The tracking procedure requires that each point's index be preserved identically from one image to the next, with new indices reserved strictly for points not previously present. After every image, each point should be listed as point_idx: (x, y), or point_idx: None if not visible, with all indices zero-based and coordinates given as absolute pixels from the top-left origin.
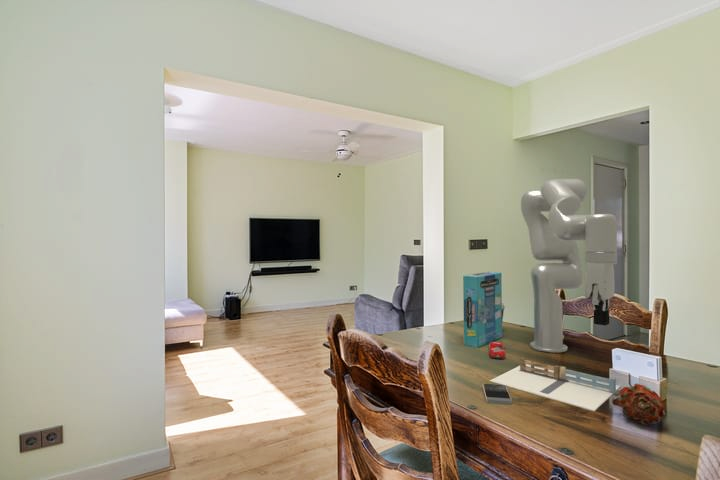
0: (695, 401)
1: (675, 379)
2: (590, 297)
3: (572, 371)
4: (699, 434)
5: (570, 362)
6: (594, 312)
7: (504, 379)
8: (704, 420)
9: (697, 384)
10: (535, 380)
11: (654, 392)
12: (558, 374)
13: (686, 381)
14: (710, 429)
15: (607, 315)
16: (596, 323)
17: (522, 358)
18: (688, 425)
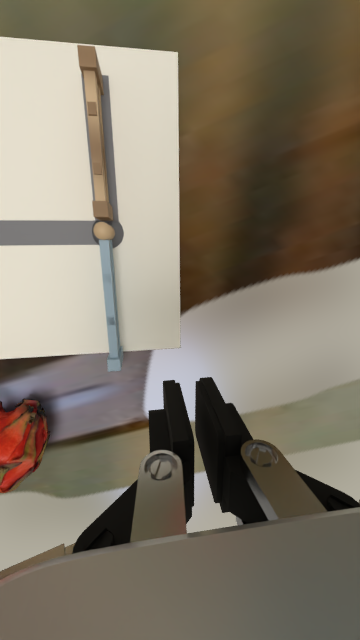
0: (198, 452)
1: (310, 402)
2: (221, 528)
3: (102, 262)
4: (40, 491)
5: (298, 182)
6: (169, 430)
7: None
8: (111, 481)
9: (302, 433)
10: (37, 168)
11: (2, 492)
12: (100, 219)
13: (309, 417)
14: (78, 494)
15: (207, 473)
16: (163, 393)
17: (86, 54)
18: (65, 474)
